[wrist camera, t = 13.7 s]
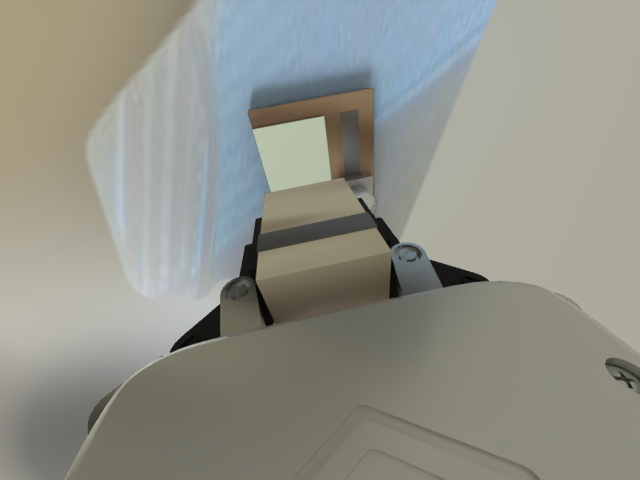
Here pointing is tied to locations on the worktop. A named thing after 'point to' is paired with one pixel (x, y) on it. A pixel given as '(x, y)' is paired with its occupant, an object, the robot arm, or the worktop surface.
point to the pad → (294, 153)
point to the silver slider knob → (362, 188)
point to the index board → (333, 127)
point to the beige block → (319, 252)
